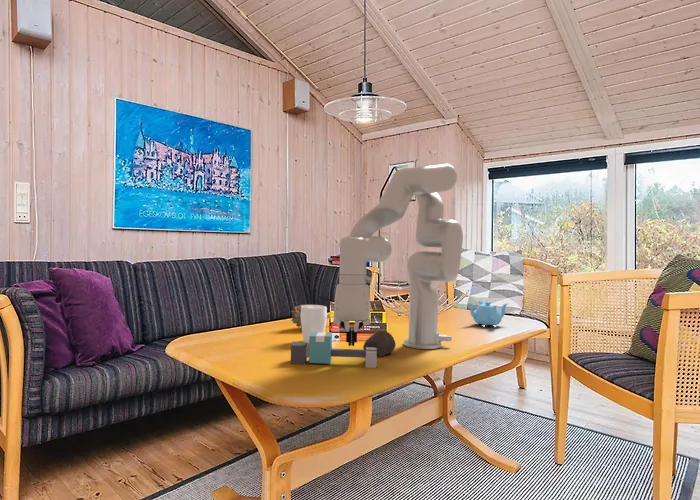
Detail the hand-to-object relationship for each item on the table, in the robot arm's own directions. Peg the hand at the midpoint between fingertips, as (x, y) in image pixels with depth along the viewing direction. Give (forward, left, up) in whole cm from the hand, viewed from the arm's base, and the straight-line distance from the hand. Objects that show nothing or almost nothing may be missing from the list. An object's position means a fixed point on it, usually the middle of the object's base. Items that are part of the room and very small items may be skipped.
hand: (351, 344), depth 133 cm
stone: (-8, -13, -6) cm, 17 cm away
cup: (+14, -26, -6) cm, 30 cm away
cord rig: (+5, 0, -5) cm, 7 cm away
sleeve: (+9, 0, -5) cm, 10 cm away
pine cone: (+16, -50, -6) cm, 53 cm away
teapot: (-55, -67, -6) cm, 87 cm away
